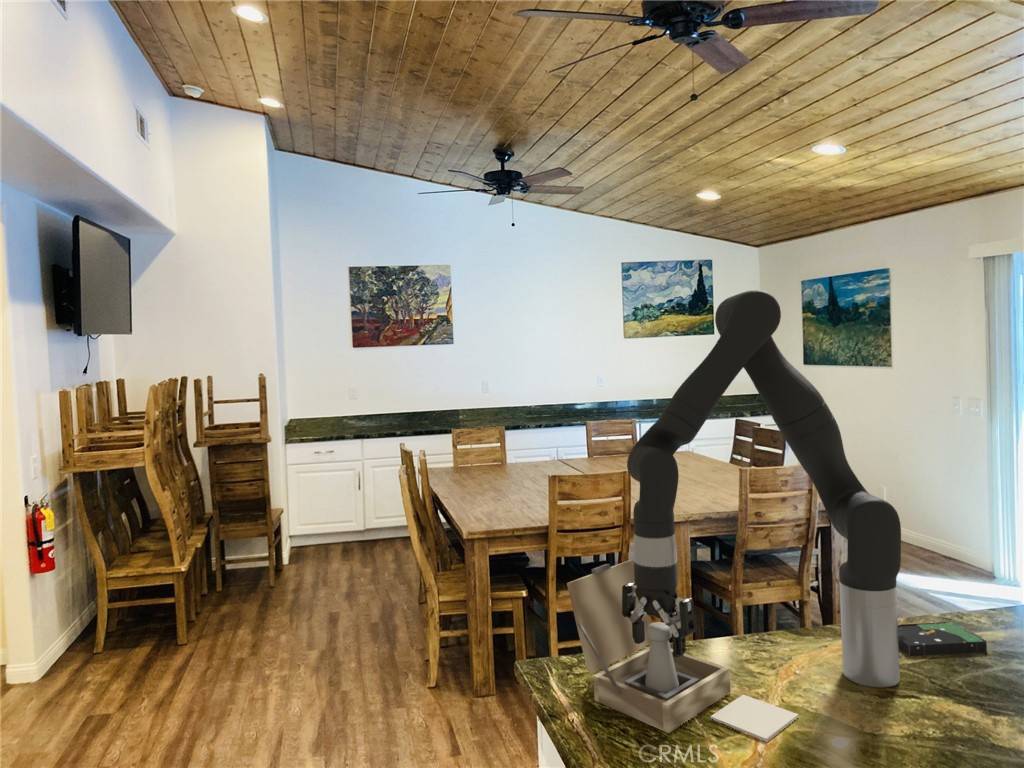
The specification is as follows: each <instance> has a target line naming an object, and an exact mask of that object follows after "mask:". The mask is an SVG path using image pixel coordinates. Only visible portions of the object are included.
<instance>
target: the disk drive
mask: <svg viewBox="0 0 1024 768" xmlns="http://www.w3.org/2000/svg"><path fill="white" fill-rule="evenodd" d="M898 640H899V650H901V651H902V652H904V653H905V654H906V655H907V656H909V657H923V656H925V657H926V656H944V655H962V654H965V655H967V654H985V653H988V647H987V645H988V643H987V640H986V639H984V638H982V637H981V636H979V635H977V634H976V633H975V632H973V631H971V630H968V629H967V628H964V627H963V626H961V625H959V622H951V621H950V622H946V621H944V622H943V621H941V622H927V623H925V622H924V623H923V622H922V623H905V624H903V623H902V624H901V623H900V624H898Z"/></svg>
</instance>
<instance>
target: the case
mask: <svg viewBox="0 0 1024 768" xmlns="http://www.w3.org/2000/svg"><path fill="white" fill-rule="evenodd" d="M577 625H578V626H579V628H580V630H581V632H582V633H583V635H584V637H585V638H586V640H587V642H588V643H589V645H590V647H591V649H592V650H593V652H594V654H595V655H596V657H597V659H598V661H599V662H600V664H601V666H602V667H603V668H602V669H603V670H601V671H599V672H598V673H596V674H593V679H592V680H593V692H594V693H593V694H594V695H593V696H594V701H595V702H598V703H599V704H602V705H604V706H607V707H609V708H611V709H613V710H615V711H618V712H620V713H622V714H624V715H627V716H629V717H631V718H633V719H635V720H638V721H640V722H641V723H644V724H647V725H649V726H652V727H653V728H656V729H658V730H660V731H663V732H665V733H667V734H670V733H671V732H673V731H675V730H677V729H678V728H680V727H681V726H682V725H684V724H686V723H687V722H688V720H689V721H691V720H692V719H693V718H695V717H696V716H698V715H699V714H701V713H703V712H704V711H705V710H704V709H706V708H707V707H708V706H709V705H711V704H713V703H714V702H716V701H717V700H719V699H721V698H722V697H724V696H725V695H727V694H728V693H730V692H731V691H732V690H731V672H730V667H726V666H725V665H724V666H723V665H720V664H718V663H715V662H712V661H708V660H706V659H703V658H700V657H696V656H695V655H691V654H688V653H686V652H685V653H684V655H683V656H681V657H679V658H676V657H674V656H673V648H671V652H672V656H673V661H674V665H675V669H676V674H677V678H678V682H679V687H677V688H676V689H674V690H672V691H670V692H669V693H667V694H664V693H662V692H659V691H657V690H654V689H652V688H649V687H647V686H646V684H645V680H646V673H647V666H648V659H649V652H650V646H649V647H647V648H645V649H643V650H641V651H640V652H639V651H638V652H637V653H636V654H633V655H631V656H629V657H627V658H626V659H623V660H621V661H619V662H617V663H615V664H613V665H611V666H609V667H608V666H605V664H604V662H603V660H602V659H601V657H600V655H599V654H598V652H597V650H596V649H595V647H594V645H593V644H592V642H591V640H590V638H589V637H588V635H587V633H586V632H585V630H584V628H583V627H582V625H581V623H580V622H578V624H577ZM577 625H576V626H577ZM731 693H732V692H731ZM731 693H730V694H731ZM727 696H728V695H727ZM724 698H725V697H724ZM722 699H723V698H722ZM722 699H721V700H722ZM719 701H720V700H719ZM716 703H717V702H716ZM713 705H714V704H713ZM707 709H708V708H707ZM707 709H706V710H707ZM703 710H704V711H703ZM700 712H701V713H700ZM698 713H699V714H698ZM697 714H698V715H697ZM694 716H695V717H694ZM691 718H692V719H691ZM685 722H686V723H685ZM683 723H684V724H683ZM680 725H681V726H680Z"/></svg>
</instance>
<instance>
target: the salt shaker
mask: <svg viewBox="0 0 1024 768" xmlns="http://www.w3.org/2000/svg"><path fill="white" fill-rule="evenodd" d="M647 636H648V638H649V639H650V640H651V644H650V645H649V647H650V652H649V659H648V666H647V673H646V680H645V684H646V686H647V687H649V688H652V689H654V690H657V691H659V692H662V693H664V694H667V693H669V692H670V691H672V690H674V689H676V688H677V687H679V682H678V678H677V674H676V669H675V665H674V661H673V656H672V652H671V649H672V647H671V644H670V640H671V639H672V636H673V633H672V632H671V630H670V628H669V626H667V625H665V623H664V622H661V621H657V622H650V625H649V626H648V627H647Z"/></svg>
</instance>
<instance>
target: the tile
mask: <svg viewBox="0 0 1024 768" xmlns="http://www.w3.org/2000/svg"><path fill="white" fill-rule="evenodd" d="M797 718H798V719H799V713H796V712H792V711H790V710H788V709H784V708H782V707H779V706H777V705H773V704H771V703H769V702H765V701H763V700H759V699H757V698H754V697H751V696H749V695H745V694H742V695H740V696H739V697H738V698H737V697H736V698H735V699H734V700H732V701H731V702H729V703H728V704H727V705H725V706H724V707H722V708H721V709H719V710H718V711H716V712H715V713H714V714H712V715H710V720H711V719H713V720H715V721H717V722H720V723H723V724H725V725H727V726H730V727H732V728H734V729H733V730H735V729H737V730H739V731H742V732H744V733H747V734H749V735H751V736H750V737H752V736H754V737H756V738H755V739H757V738H758V739H757V740H759V739H761V740H760V741H762V740H763V741H762V742H764V741H765V743H769V741H771V740H772V739H773V738H775V737H776V736H777V735H779V734H780V733H781V732H782V731H784V730H785V729H787V728H788V727H789V726H790V725H791V724H793V723H794V722H795V721H797V720H798V719H797ZM794 720H795V721H794ZM715 721H714V722H715ZM717 722H716V723H717ZM792 722H793V723H792ZM720 723H719V724H720ZM789 724H790V725H789ZM725 725H724V726H725ZM788 725H789V726H788ZM727 726H726V727H727ZM730 727H729V728H730ZM732 728H731V729H732ZM784 728H785V729H784ZM783 729H784V730H783ZM737 730H736V731H737ZM739 731H738V732H739ZM780 731H781V732H780ZM742 732H741V733H742ZM779 732H780V733H779ZM744 733H743V734H744ZM747 734H746V735H747ZM749 735H748V736H749ZM775 735H776V736H775ZM774 736H775V737H774ZM754 737H753V738H754ZM771 738H772V739H771ZM770 739H771V740H770Z"/></svg>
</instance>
